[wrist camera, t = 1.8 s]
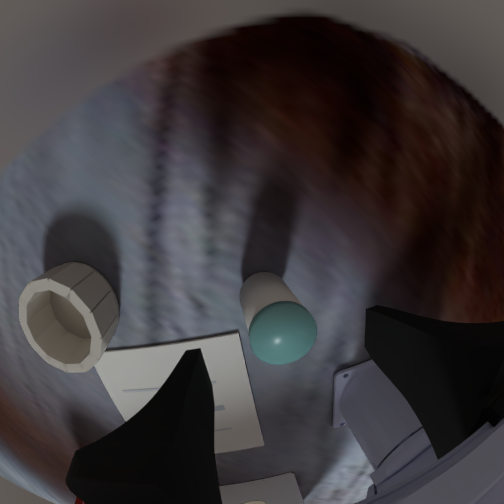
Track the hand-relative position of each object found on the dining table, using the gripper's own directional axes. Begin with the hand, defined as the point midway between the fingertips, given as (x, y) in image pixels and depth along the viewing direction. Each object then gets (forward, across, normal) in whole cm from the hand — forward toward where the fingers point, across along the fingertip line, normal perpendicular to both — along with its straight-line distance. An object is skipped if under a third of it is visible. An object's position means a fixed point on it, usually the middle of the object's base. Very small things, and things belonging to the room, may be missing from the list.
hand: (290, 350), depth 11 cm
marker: (+8, 0, 0) cm, 8 cm away
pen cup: (+8, +13, -1) cm, 15 cm away
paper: (+8, +8, +10) cm, 15 cm away
